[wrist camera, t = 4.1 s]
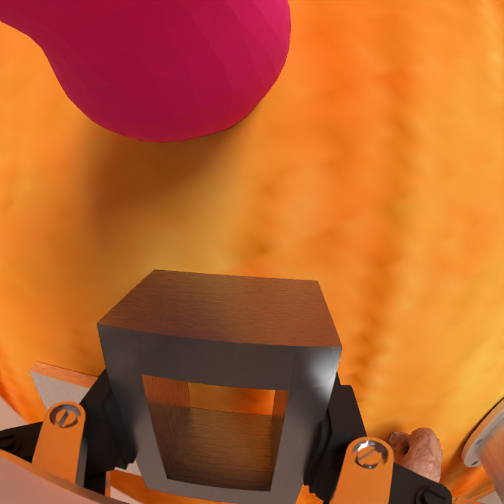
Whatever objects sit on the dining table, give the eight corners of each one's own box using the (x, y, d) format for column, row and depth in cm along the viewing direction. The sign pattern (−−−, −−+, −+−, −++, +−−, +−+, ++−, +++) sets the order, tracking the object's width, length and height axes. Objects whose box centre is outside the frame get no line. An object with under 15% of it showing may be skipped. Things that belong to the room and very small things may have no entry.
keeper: (165, 389, 16) (131, 485, 10) (182, 472, 19) (167, 543, 12) (37, 361, 16) (-17, 423, 10) (76, 446, 19) (47, 503, 12)
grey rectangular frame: (154, 269, 10) (96, 323, 6) (317, 280, 10) (341, 347, 6) (171, 421, 12) (147, 488, 8) (291, 433, 12) (294, 505, 8)
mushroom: (384, 400, 17) (425, 497, 9) (447, 400, 17) (493, 476, 9) (338, 464, 19) (355, 547, 11) (399, 461, 19) (424, 531, 11)
